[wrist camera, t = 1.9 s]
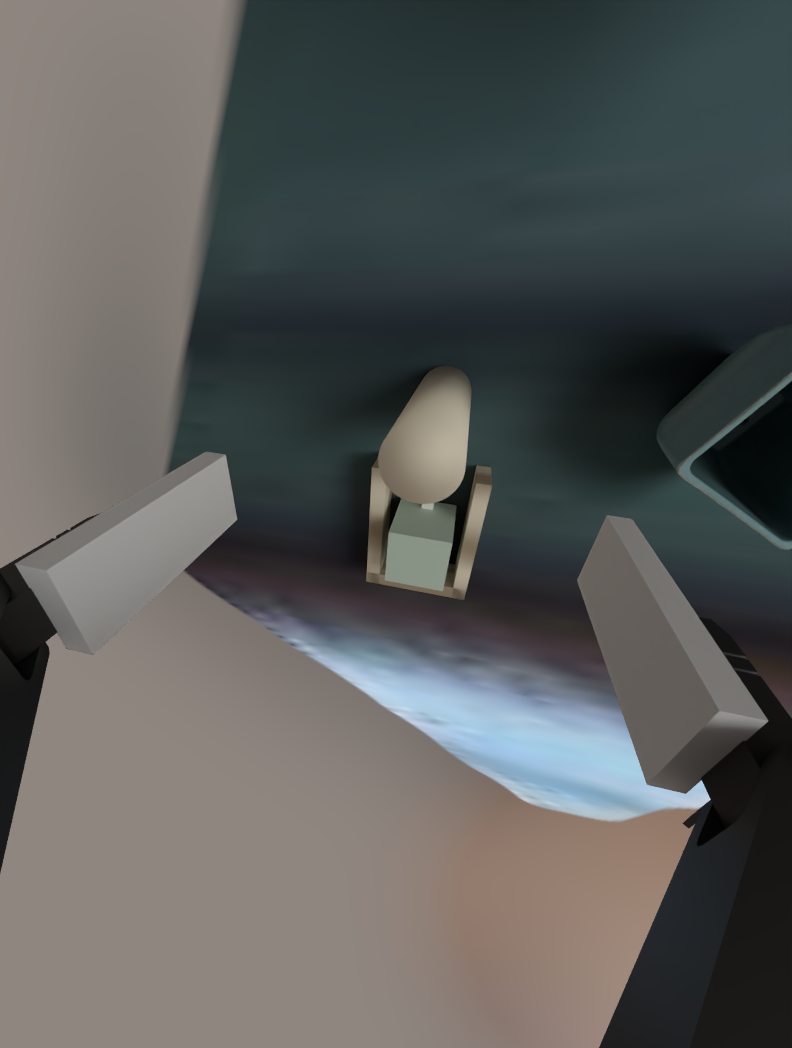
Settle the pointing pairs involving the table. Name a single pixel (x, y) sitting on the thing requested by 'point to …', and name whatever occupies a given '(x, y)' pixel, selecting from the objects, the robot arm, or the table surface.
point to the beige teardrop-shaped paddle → (426, 477)
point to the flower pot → (741, 435)
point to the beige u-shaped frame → (468, 543)
